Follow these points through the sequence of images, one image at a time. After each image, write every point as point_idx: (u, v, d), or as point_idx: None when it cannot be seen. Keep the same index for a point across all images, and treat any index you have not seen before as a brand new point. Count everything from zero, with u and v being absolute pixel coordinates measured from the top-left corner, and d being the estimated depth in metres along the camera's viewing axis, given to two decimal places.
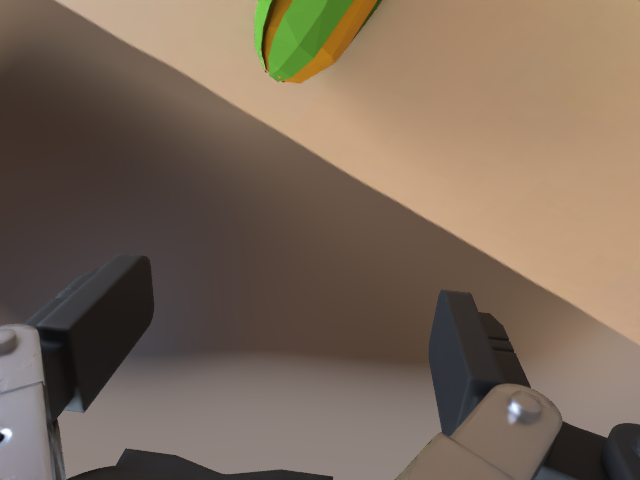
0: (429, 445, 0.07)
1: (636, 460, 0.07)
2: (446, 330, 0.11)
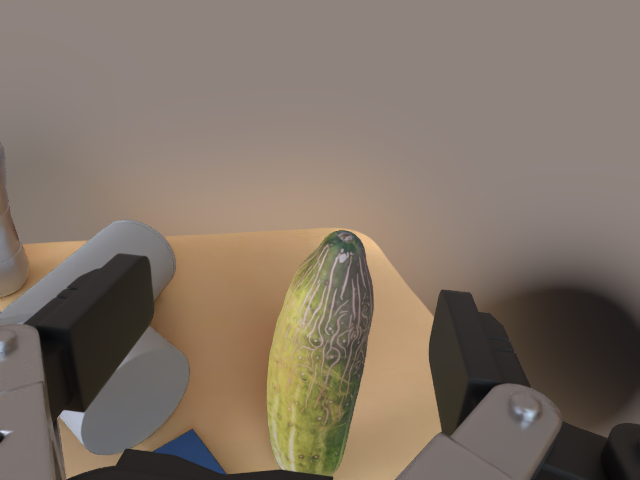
0: (429, 445, 0.07)
1: (636, 460, 0.07)
2: (446, 330, 0.11)
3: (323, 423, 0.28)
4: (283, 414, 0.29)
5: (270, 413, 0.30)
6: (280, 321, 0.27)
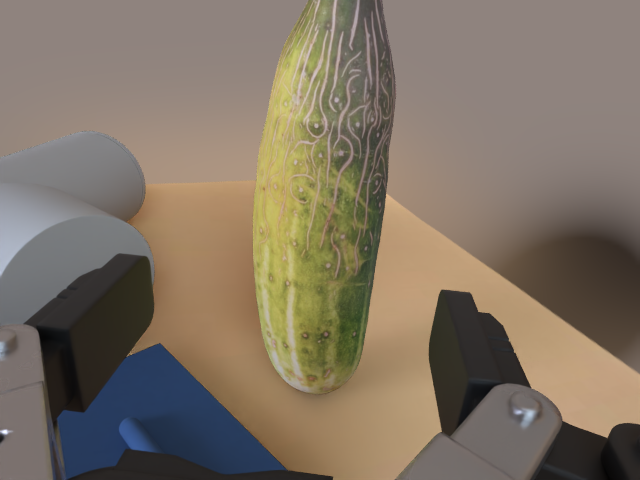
0: (429, 445, 0.07)
1: (636, 460, 0.07)
2: (446, 330, 0.11)
3: (333, 274, 0.20)
4: (276, 272, 0.20)
5: (259, 281, 0.22)
6: (265, 126, 0.19)
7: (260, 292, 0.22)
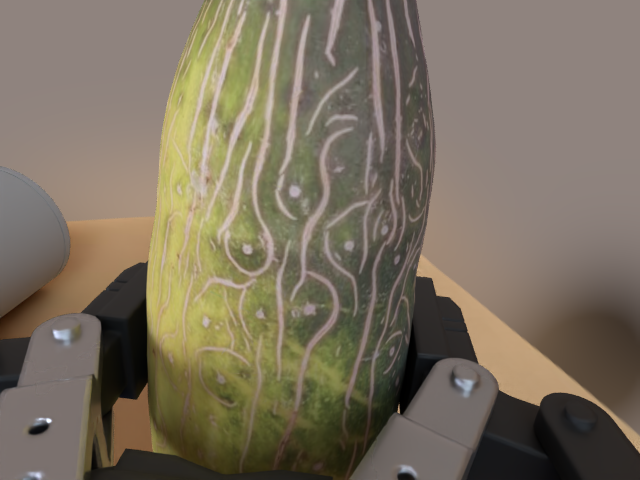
0: (386, 426, 0.07)
1: (561, 424, 0.08)
2: None
3: None
4: None
5: None
6: (154, 224, 0.09)
7: None
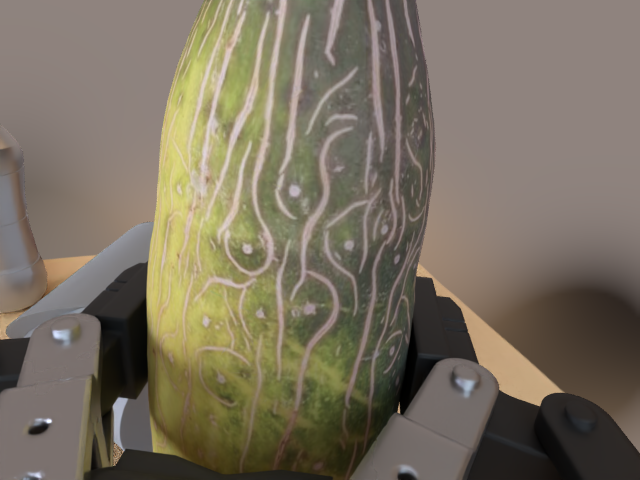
0: (386, 426, 0.07)
1: (562, 424, 0.08)
2: None
3: None
4: None
5: None
6: (154, 224, 0.09)
7: None
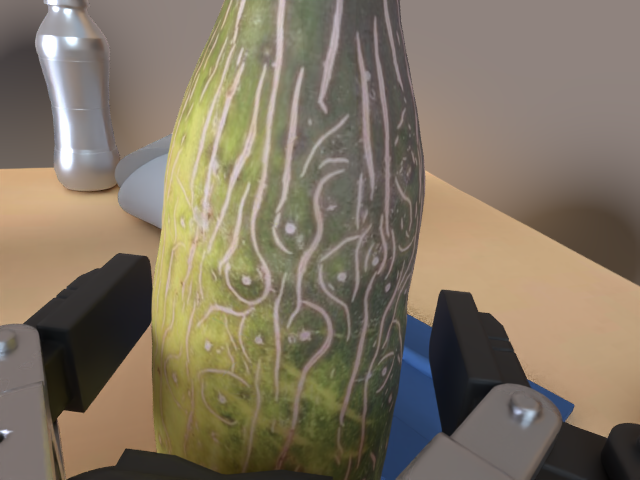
0: (429, 445, 0.07)
1: (636, 460, 0.07)
2: (446, 330, 0.11)
3: None
4: None
5: None
6: None
7: None
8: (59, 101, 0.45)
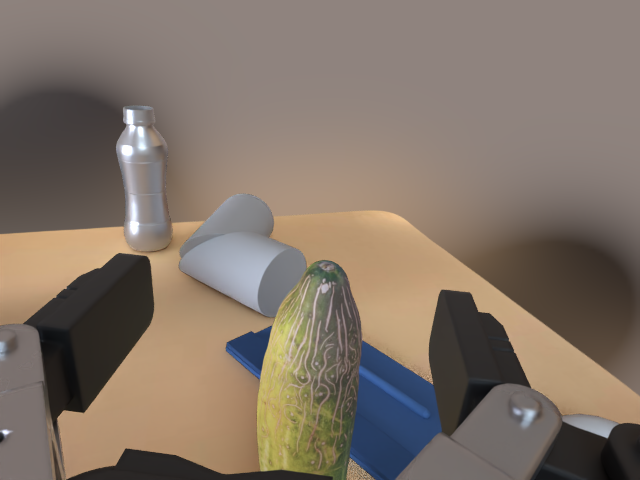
0: (429, 445, 0.07)
1: (636, 460, 0.07)
2: (446, 330, 0.11)
3: (317, 467, 0.26)
4: (274, 460, 0.27)
5: (261, 460, 0.28)
6: (266, 359, 0.26)
7: (262, 467, 0.28)
8: (132, 189, 0.62)
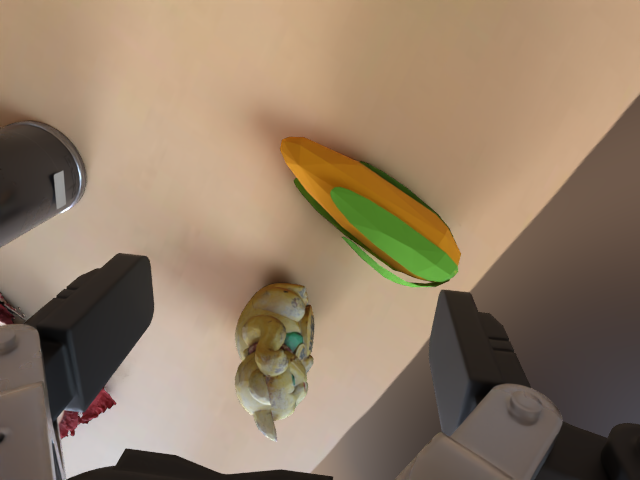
0: (429, 445, 0.07)
1: (636, 460, 0.07)
2: (446, 330, 0.11)
3: None
4: None
5: None
6: None
7: None
8: None
